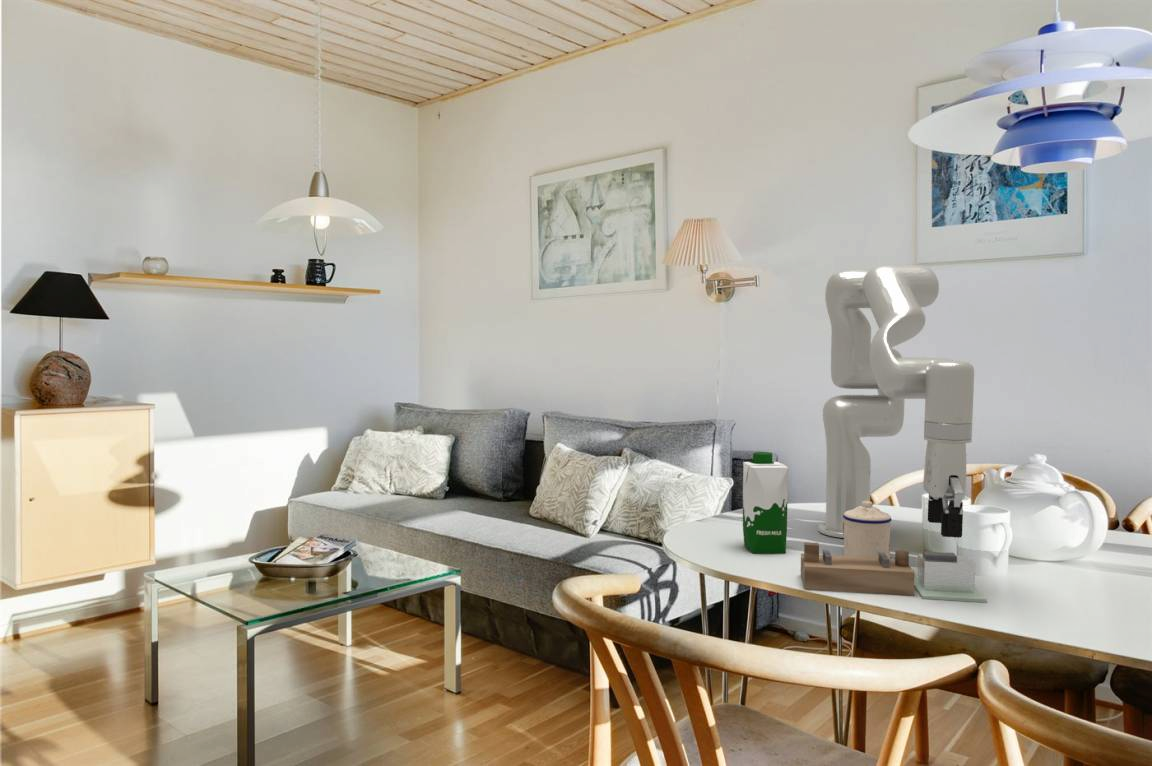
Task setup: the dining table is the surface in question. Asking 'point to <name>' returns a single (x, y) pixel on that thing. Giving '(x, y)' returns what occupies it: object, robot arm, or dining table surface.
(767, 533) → the milk carton
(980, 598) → the mat
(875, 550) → the teacup with lid
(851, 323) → the robot arm
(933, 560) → the lever cap
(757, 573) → the dining table surface
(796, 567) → the dining table surface
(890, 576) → the plane body
